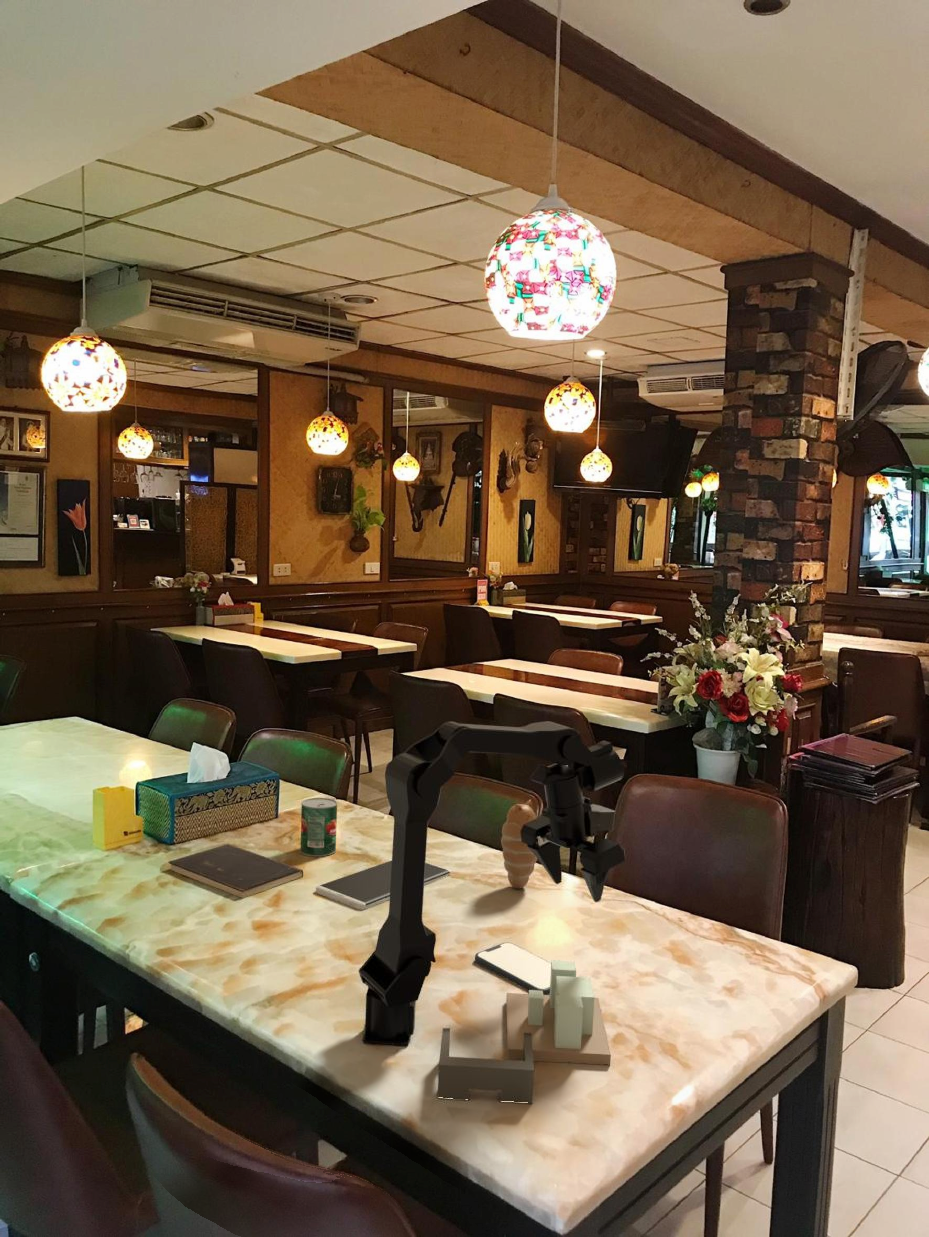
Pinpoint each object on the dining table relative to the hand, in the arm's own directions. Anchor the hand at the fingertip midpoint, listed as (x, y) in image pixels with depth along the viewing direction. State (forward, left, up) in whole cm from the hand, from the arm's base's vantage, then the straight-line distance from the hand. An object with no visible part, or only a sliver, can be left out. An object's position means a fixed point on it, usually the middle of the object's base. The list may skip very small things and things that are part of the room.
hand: (577, 891), depth 152 cm
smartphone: (-35, +40, -16) cm, 55 cm away
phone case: (-8, +3, -16) cm, 18 cm away
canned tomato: (-52, +57, -15) cm, 78 cm away
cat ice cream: (-8, +40, -15) cm, 44 cm away
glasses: (-14, -29, -15) cm, 36 cm away
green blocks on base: (-4, -15, -15) cm, 22 cm away
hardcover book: (-66, +40, -16) cm, 79 cm away
